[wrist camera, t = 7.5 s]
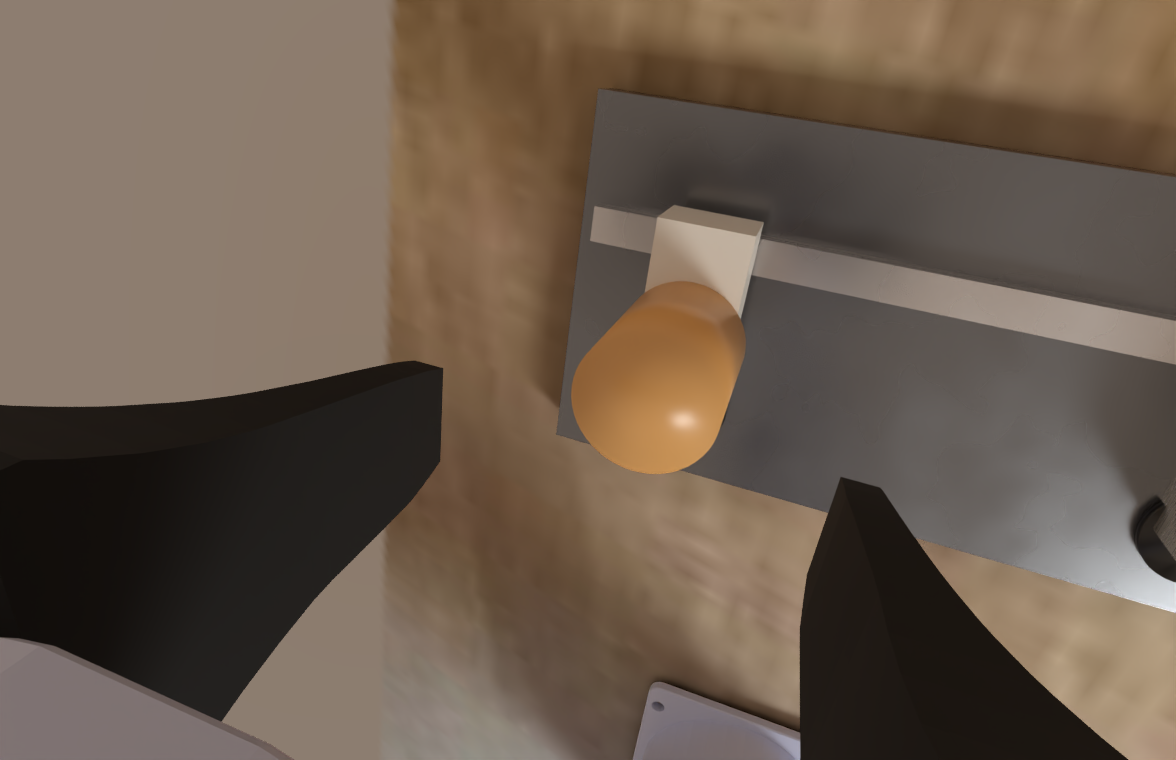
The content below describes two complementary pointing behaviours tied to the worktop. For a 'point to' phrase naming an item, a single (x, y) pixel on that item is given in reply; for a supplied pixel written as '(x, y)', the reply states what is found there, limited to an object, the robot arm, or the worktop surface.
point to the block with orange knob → (672, 347)
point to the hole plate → (920, 327)
